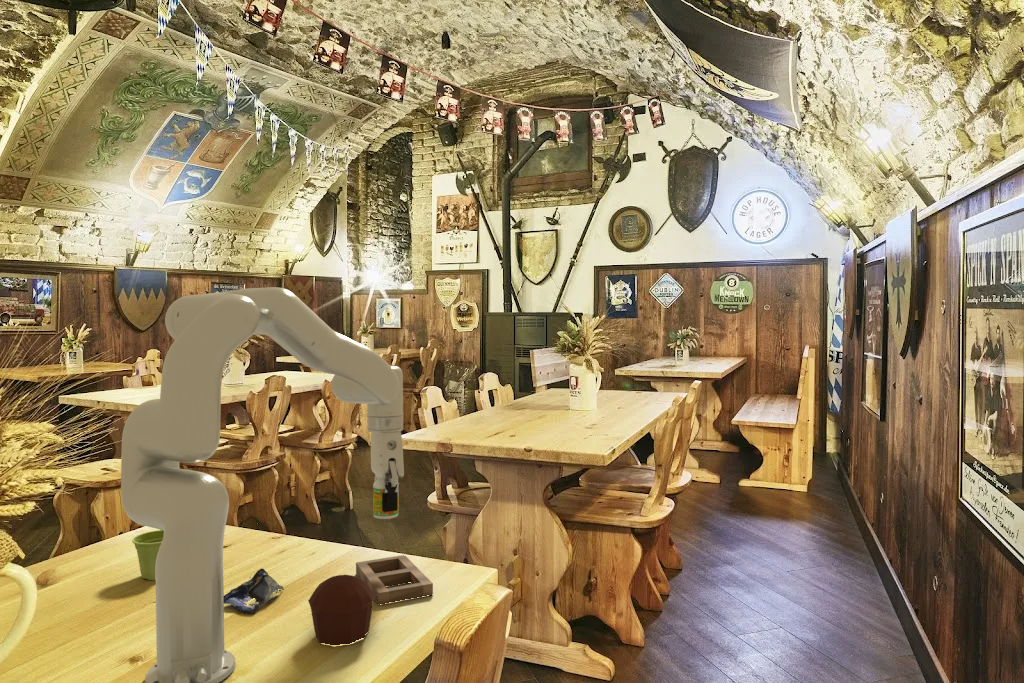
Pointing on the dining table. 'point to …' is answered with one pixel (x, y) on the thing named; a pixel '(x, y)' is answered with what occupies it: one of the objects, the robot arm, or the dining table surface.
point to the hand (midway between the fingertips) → (385, 506)
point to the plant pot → (148, 551)
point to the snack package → (253, 592)
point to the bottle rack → (394, 579)
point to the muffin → (341, 609)
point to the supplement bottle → (378, 500)
